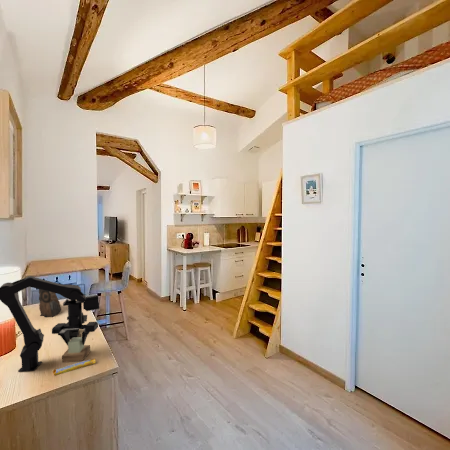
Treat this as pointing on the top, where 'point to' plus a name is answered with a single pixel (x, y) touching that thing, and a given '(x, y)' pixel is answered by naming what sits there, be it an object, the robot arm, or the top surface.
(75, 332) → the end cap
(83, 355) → the base
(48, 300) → the owl
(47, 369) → the top surface
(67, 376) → the top surface
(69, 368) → the candy bar
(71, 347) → the block
